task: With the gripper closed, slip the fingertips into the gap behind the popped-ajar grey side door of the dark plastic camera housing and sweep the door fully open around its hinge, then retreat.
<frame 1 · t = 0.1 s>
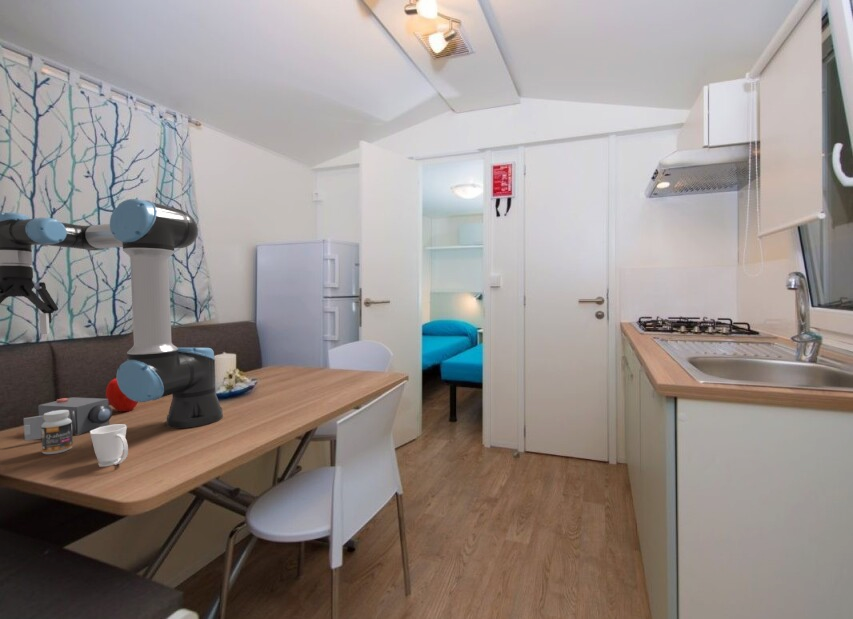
hand: (18, 336, 119), 28 cm above the table, fingers open, 13 cm apart
camera body: (75, 428, 117), on the table
cup: (114, 464, 91), on the table
pill bottle: (58, 451, 100), on the table
apple: (124, 411, 136), on the table
side door: (50, 425, 108), point 4 cm above the table, hinge at 50.0°
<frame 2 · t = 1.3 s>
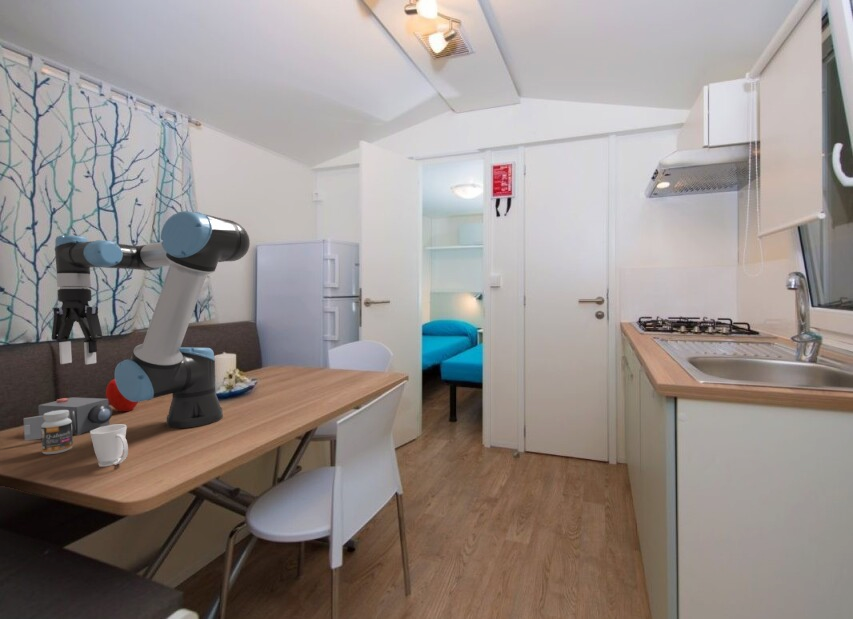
hand: (78, 363, 118), 19 cm above the table, fingers open, 9 cm apart
nothing on the table moved.
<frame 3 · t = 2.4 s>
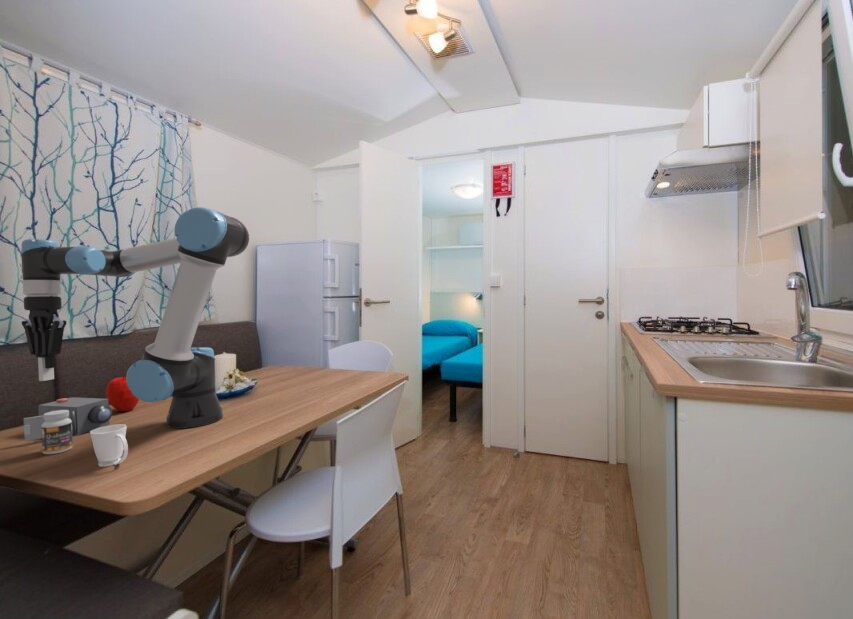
hand: (46, 379, 110), 16 cm above the table, fingers closed
nothing on the table moved.
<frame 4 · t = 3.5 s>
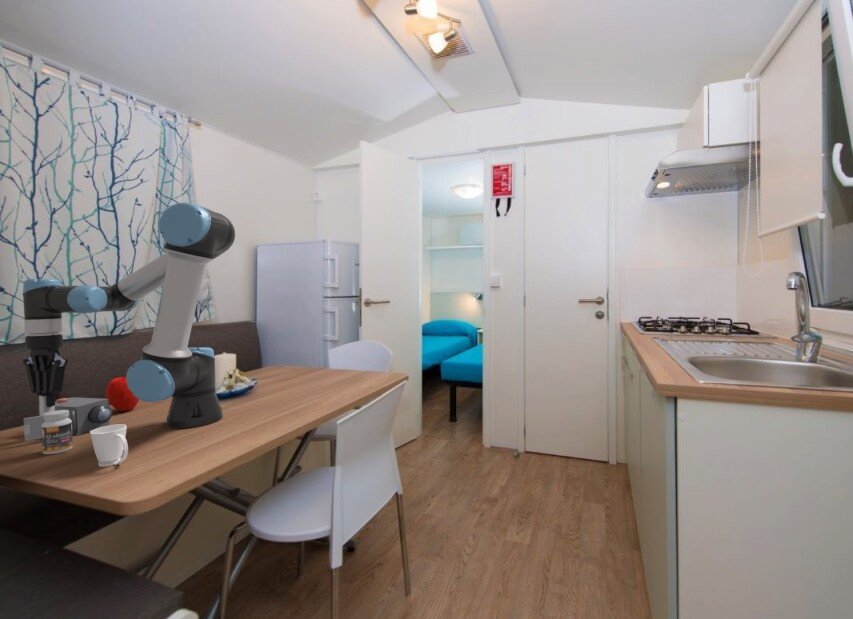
hand: (47, 417, 110), 5 cm above the table, fingers closed
nothing on the table moved.
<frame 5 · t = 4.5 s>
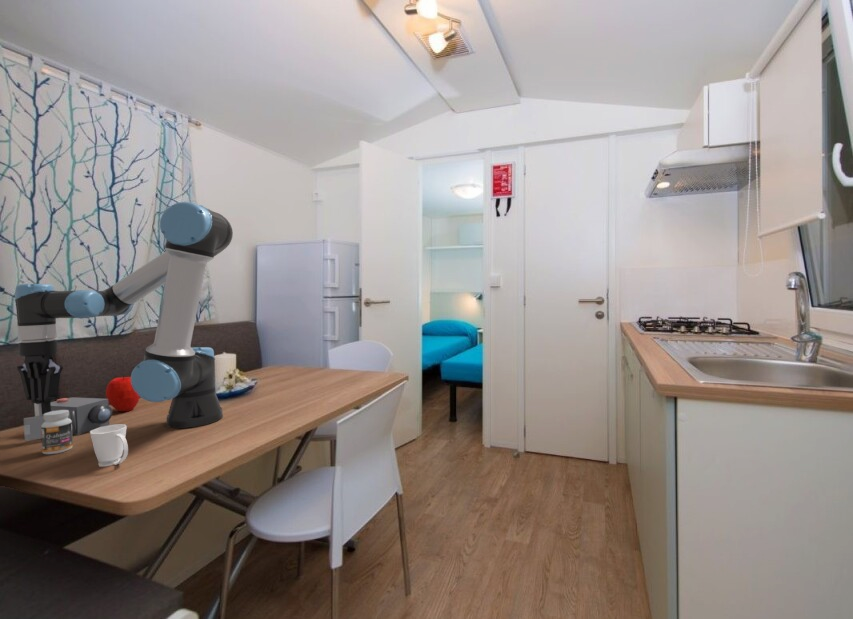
hand: (43, 425, 108), 4 cm above the table, fingers closed
side door: (50, 425, 108), point 4 cm above the table, hinge at 50.0°, touching gripper
everything else where it was.
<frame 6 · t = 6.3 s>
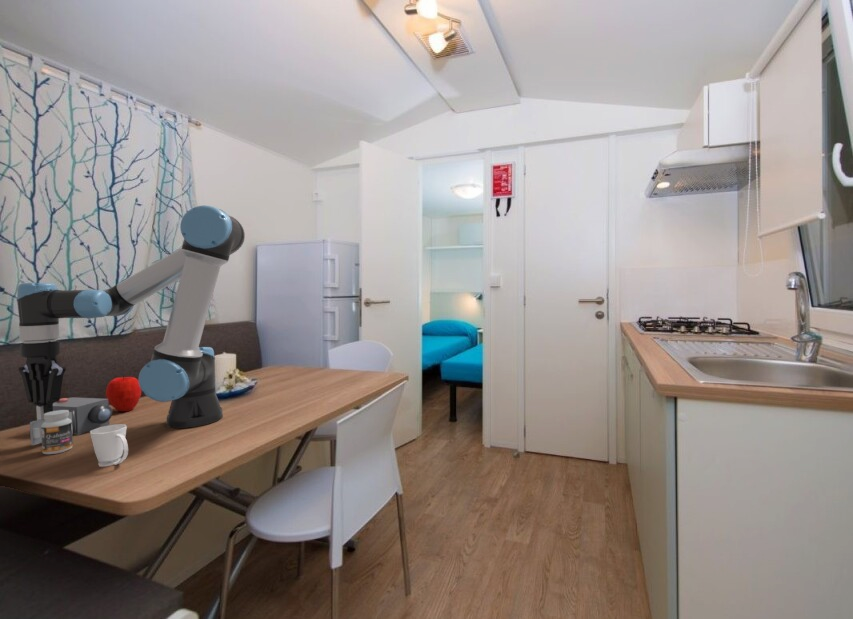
hand: (45, 428, 105), 4 cm above the table, fingers closed
side door: (54, 427, 106), point 4 cm above the table, hinge at 88.1°, touching gripper
everything else where it was.
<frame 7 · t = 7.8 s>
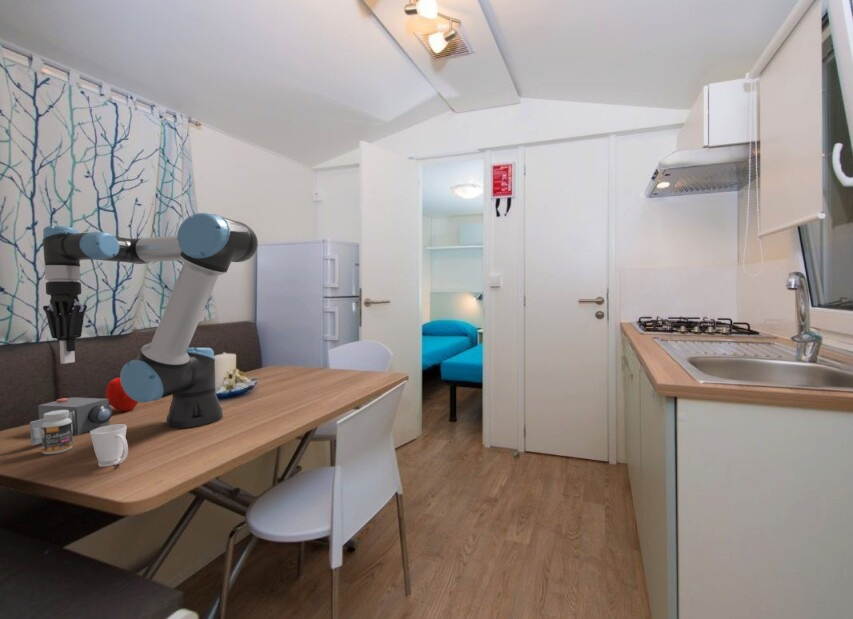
hand: (67, 362, 114), 20 cm above the table, fingers closed
side door: (54, 427, 106), point 4 cm above the table, hinge at 88.3°
everything else where it was.
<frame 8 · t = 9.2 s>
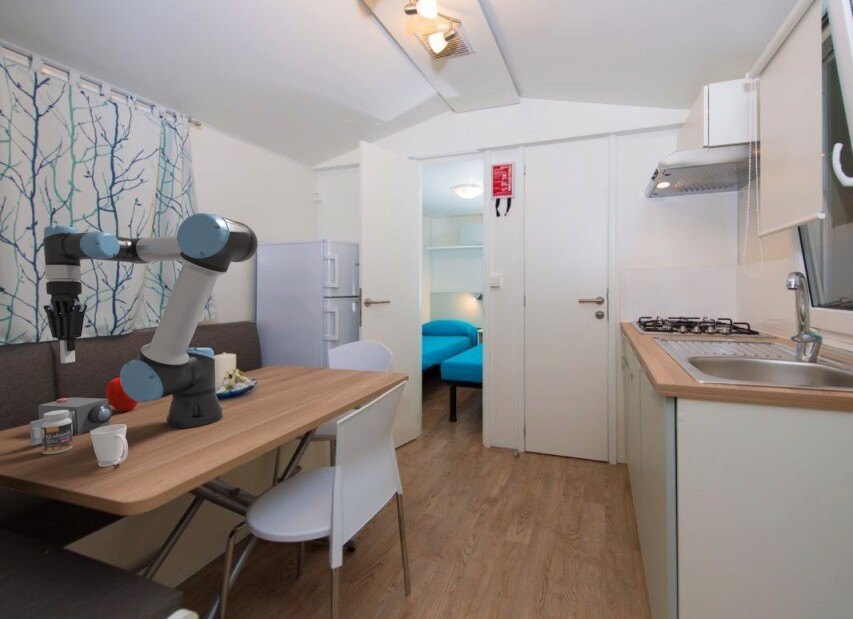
hand: (68, 362, 114), 20 cm above the table, fingers closed
nothing on the table moved.
at the end: side door at +88° (first picture: +50°) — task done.
